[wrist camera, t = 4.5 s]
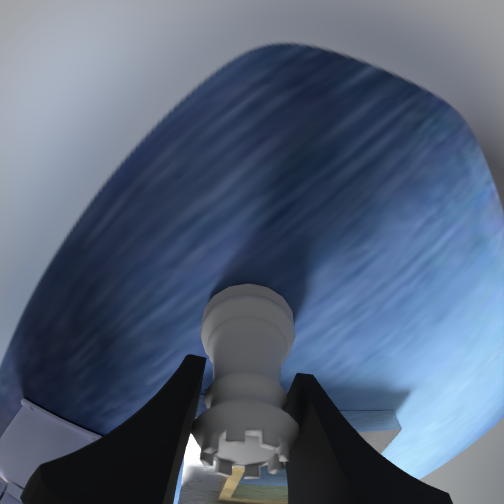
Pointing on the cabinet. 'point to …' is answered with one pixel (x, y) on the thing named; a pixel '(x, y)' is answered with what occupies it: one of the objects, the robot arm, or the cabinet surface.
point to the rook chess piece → (246, 382)
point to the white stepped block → (268, 485)
